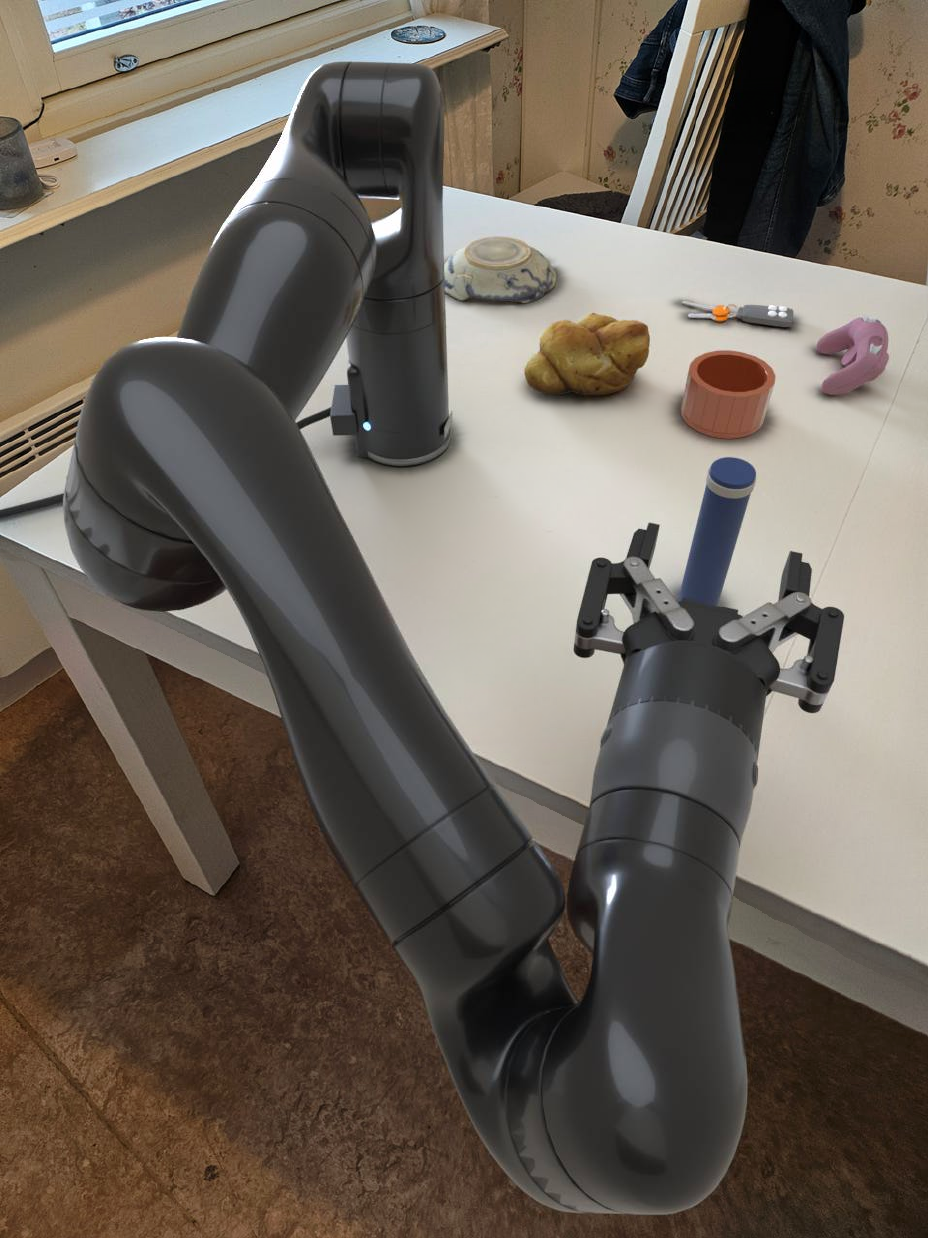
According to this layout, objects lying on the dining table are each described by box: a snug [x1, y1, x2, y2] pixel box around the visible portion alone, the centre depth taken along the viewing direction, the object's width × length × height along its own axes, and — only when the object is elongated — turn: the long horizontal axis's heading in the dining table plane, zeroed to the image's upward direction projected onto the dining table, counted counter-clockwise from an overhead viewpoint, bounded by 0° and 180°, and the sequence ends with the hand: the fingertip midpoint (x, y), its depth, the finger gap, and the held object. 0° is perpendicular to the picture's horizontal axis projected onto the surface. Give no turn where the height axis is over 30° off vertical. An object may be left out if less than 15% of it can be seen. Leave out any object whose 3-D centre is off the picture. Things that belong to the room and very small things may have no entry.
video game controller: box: [815, 314, 890, 396], centre depth 93 cm, size 10×5×7 cm, turn 169°
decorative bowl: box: [444, 236, 557, 304], centre depth 110 cm, size 15×4×15 cm
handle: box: [677, 456, 757, 607], centre depth 67 cm, size 3×3×14 cm
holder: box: [680, 349, 776, 440], centre depth 89 cm, size 8×8×5 cm
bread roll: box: [524, 312, 651, 396], centre depth 92 cm, size 13×10×8 cm
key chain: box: [681, 300, 794, 328], centre depth 103 cm, size 13×4×2 cm, turn 76°
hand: (721, 547), depth 54 cm, fingers open, 8 cm apart
